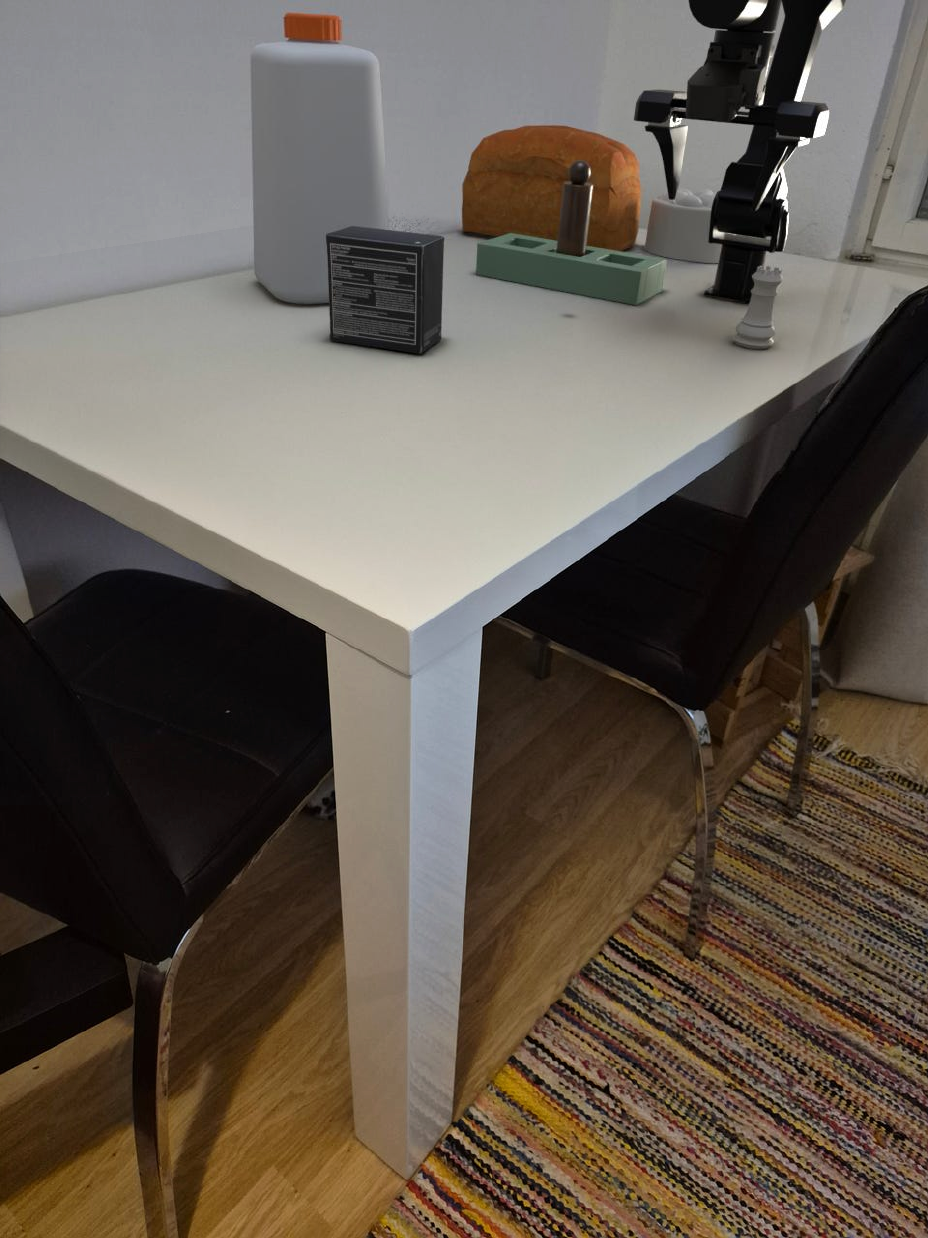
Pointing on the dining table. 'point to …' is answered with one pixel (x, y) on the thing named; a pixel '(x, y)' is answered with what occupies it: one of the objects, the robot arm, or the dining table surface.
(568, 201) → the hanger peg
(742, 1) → the robot arm
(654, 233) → the lumpy-topped squat cylinder
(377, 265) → the small box
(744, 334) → the rook chess piece
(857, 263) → the dining table surface
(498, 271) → the green three-slot holder
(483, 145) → the bread
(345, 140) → the plastic bottle
